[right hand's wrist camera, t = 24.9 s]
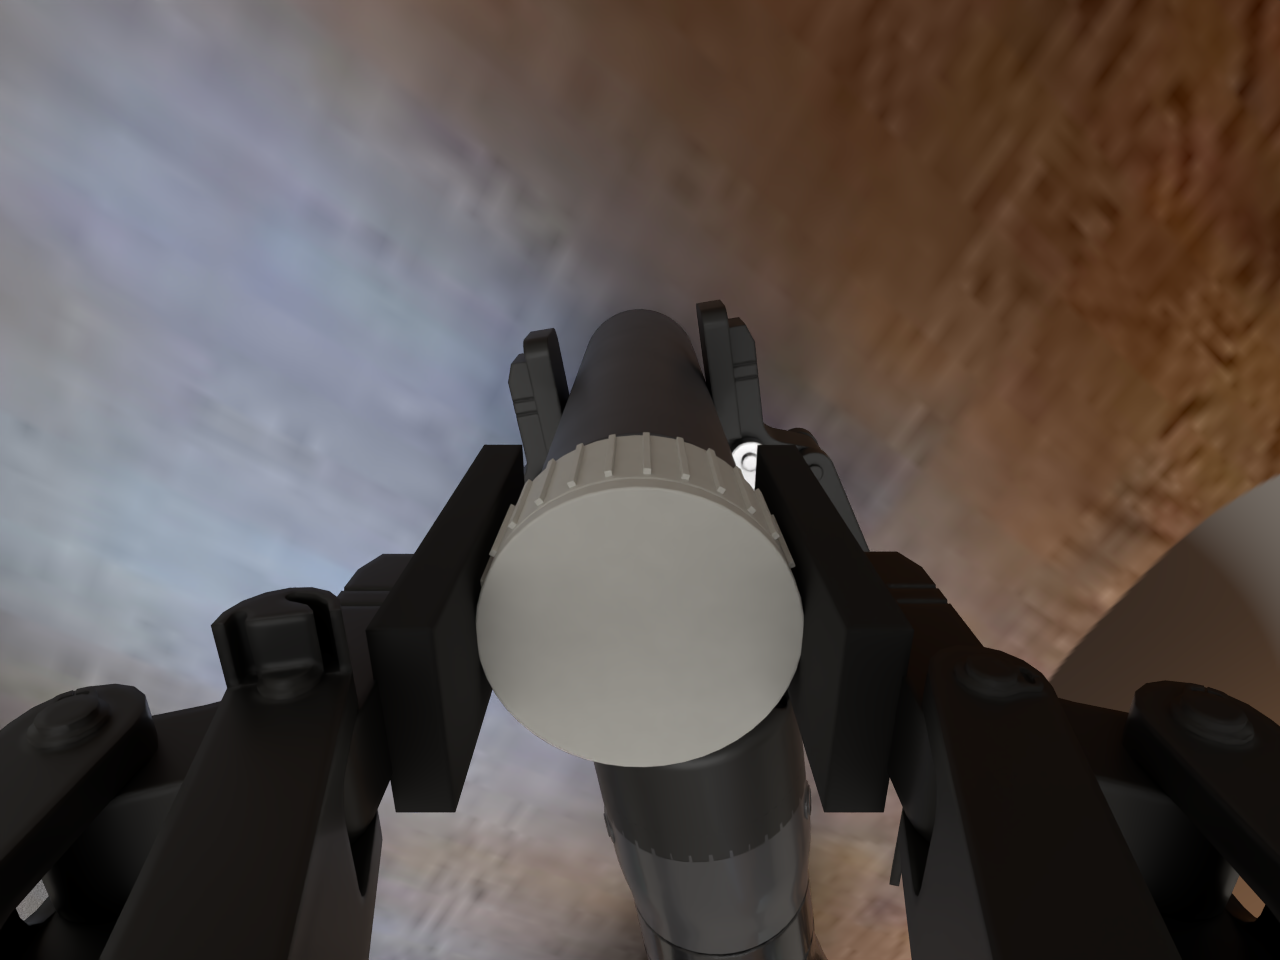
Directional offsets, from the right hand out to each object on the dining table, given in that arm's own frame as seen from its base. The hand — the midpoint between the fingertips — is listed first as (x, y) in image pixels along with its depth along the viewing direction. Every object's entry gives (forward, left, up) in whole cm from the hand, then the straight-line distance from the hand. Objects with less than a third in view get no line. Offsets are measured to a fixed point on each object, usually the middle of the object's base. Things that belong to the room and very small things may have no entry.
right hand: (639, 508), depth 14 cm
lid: (0, 0, +4) cm, 4 cm away
